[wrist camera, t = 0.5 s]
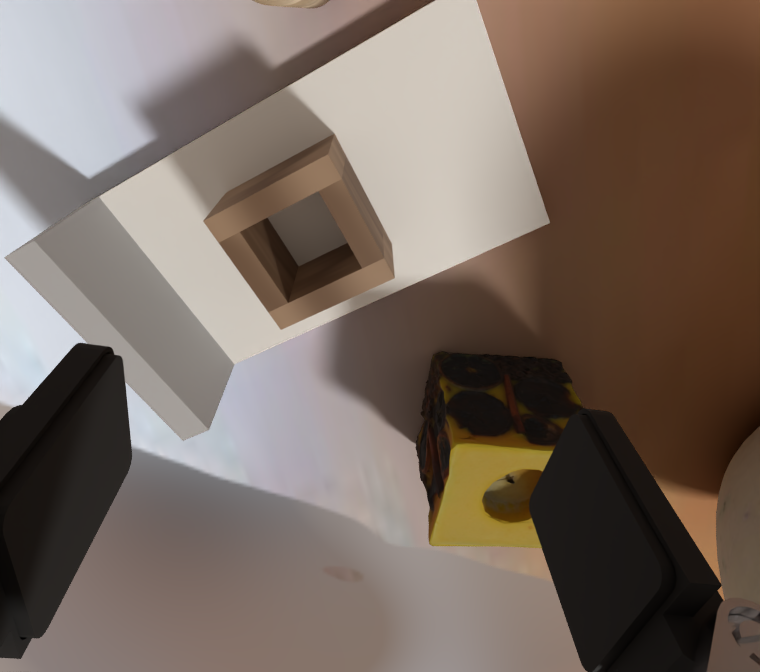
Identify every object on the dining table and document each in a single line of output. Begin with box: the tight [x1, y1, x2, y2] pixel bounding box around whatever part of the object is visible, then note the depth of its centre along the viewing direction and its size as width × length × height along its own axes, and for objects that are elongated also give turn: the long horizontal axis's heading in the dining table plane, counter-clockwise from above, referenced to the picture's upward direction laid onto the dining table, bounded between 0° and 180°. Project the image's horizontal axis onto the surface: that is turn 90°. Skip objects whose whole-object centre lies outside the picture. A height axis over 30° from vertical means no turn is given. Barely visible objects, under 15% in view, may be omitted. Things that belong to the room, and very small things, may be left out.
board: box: [4, 0, 550, 441], centre depth 29 cm, size 26×14×8 cm, turn 117°
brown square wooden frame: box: [203, 133, 395, 330], centre depth 30 cm, size 8×8×5 cm
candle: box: [416, 352, 585, 548], centre depth 37 cm, size 10×10×10 cm
